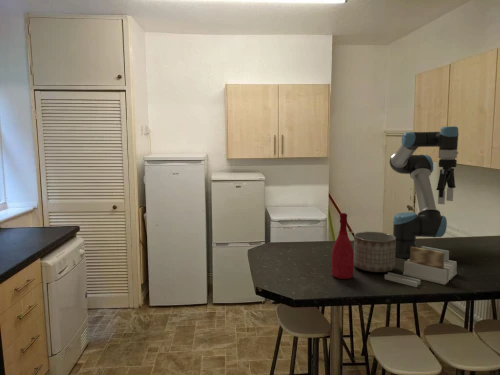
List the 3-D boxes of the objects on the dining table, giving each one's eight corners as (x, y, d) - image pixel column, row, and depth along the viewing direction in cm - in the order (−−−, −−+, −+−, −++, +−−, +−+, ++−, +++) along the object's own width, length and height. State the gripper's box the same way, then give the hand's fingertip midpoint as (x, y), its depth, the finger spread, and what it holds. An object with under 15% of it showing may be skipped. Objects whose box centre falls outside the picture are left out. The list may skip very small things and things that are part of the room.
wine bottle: (349, 281, 159) (351, 216, 155) (328, 277, 164) (329, 214, 161) (355, 274, 167) (357, 212, 164) (335, 271, 172) (336, 210, 169)
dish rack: (403, 274, 167) (404, 251, 165) (416, 265, 179) (417, 243, 178) (444, 284, 154) (446, 259, 153) (456, 273, 167) (457, 250, 166)
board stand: (384, 279, 161) (384, 274, 161) (388, 276, 165) (388, 272, 164) (416, 287, 152) (416, 282, 151) (420, 284, 155) (420, 279, 155)
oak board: (409, 271, 167) (410, 247, 165) (410, 271, 168) (411, 246, 167) (442, 279, 157) (443, 253, 156) (443, 278, 158) (444, 252, 157)
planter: (377, 278, 162) (378, 243, 160) (345, 266, 179) (346, 234, 177) (403, 270, 173) (404, 237, 171) (370, 259, 189) (371, 229, 187)
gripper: (448, 159, 159) (446, 206, 161) (463, 158, 177) (461, 200, 179) (430, 159, 164) (428, 204, 167) (447, 158, 182) (444, 198, 184)
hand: (445, 202), depth 173 cm, fingers open, 13 cm apart
